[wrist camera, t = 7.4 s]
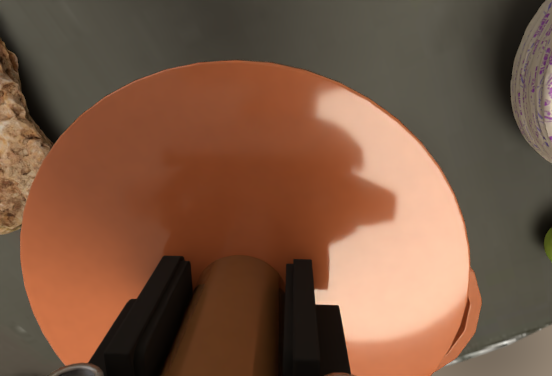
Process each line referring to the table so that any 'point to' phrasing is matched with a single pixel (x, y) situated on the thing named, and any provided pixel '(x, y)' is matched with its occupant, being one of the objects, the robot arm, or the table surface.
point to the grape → (548, 244)
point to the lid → (247, 220)
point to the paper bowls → (535, 82)
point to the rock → (16, 145)
